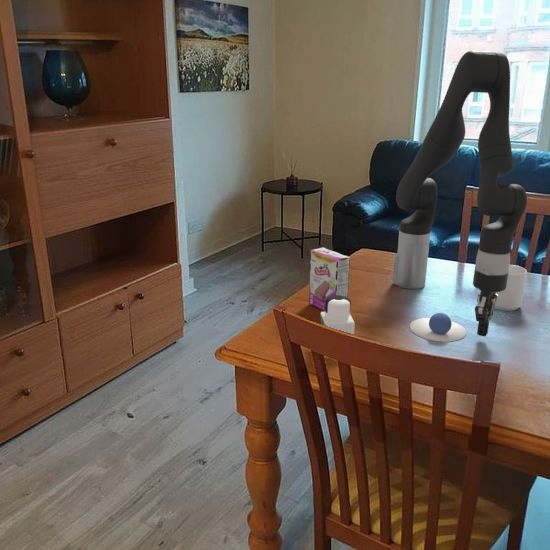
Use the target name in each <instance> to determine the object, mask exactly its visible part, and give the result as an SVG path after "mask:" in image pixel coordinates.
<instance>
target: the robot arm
mask: <svg viewBox="0 0 550 550" xmlns="http://www.w3.org/2000/svg"><path fill="white" fill-rule="evenodd" d="M471 93H479V94H480V93H483V94H485V93H486V94H487V95H488V97H489V111H488V114H487V117H486V119H485V121H484V124H483V125H482V128H481V131H480V132H479V136H478V140H477V149H478V157H479V165H480V166H479V167H480V174H479V175H480V176H479V183H478V189H477V195H476V205H477V208H478V210H479V212H481V214H482V215H484V216H487V217H495V216H497V217H499V218H498V219H497V220H496V221H494V222H491V223H489V224H485V225H484V226H483V227H482V228H481V231H480V236H479V243H478V250H477V254H476V259H475V263H474V265H475V266H474V272H473V280H472V285H473V287H475V288H476V289H478V290H479V291H480V293H479V294H477V298H476V302H477V305H475V306H474V312H475V321H476V322H478V324H477V330H476V331H477V332H476V334H477V335H478V336H480V337H486V336H487V335H488V333H489V328H490V327H489V326H490V321H491V320H492V317H493V316H494V312H495V309H496V308H495V305H496V301H497V298H498V294H497V293H496V292H501V291H503V290H505V289H506V285H507V279H508V272H509V266H510V265H511V250H512V243H513V237H514V234H515V232H516V230H517V228H518V227H519V226H518V225H519V223H520V221H521V219H522V217H523V215H524V213H525V210H526V208H527V204H528V195H527V191H526V190H525V188H524V187H523V186H522V185H520V184H517V183H509V184H506V183H505V184H498V182H497V179H498V178H502V177H505V176H508V175H510V174H511V173H512V172H513V170H514V158H513V150H512V143H511V135H510V101H511V68H510V62H509V58H508V57H507V55H506V54H505V53H503V52H499V51H492V50H491V51H488V50H469V51H467V52H465V53H464V54H463V55H461V57H460V59H459V60H458V63H457V65H456V67H455V69H454V72H453V75H452V77H451V80H450V83H449V85H448V88H447V91H446V94H445V95H444V97H443V99H442V103H441V105H440V108H439V109H438V111H437V114H436V115H435V118H434V120H433V121H432V123H431V125H430V127H429V129H428V132H427V133H426V135H425V137H424V139H423V142H422V144H421V146H420V148H419V150H418V152H417V154H416V156H415V157H414V159H413V161H412V163H411V165H410V166H409V167H408V169H407V170H406V172H405V174H404V175H403V177H402V179H401V180H400V182H399V184H398V186H397V189H396V194H395V200H396V203H397V206H398V207H399V208H400V209H402V210H404V211H405V210H406V211H411V210H412V211H413V210H415V211H414V212H413V213H412V214H411V215H410V216H409V215H408V216H407V217H405V218H403V219H402V220H401V221H400V222H399V232H398V243H397V244H398V245H397V253H396V254H395V255H394V264H393V274H392V284H393V285H396V286H397V287H399V288H403V289H409V290H413V289H414V290H418V289H422V288H424V287H425V286H426V279H427V278H426V277H427V269H428V260H429V259H428V258H429V249H430V240H431V233H432V232H431V230H432V226H433V224H434V220H435V213H436V208H437V200H438V185H437V183H436V181H435V180H434V179H433V178H431V177H430V176H432V175H433V174H434V173H436V172H437V171H438V170H440V169H441V168H443V167H444V166H445V165H448V163H449V162H450V161H452V159H453V158H454V157H455V156H456V154H457V152H458V151H459V149H460V147H461V145H462V143H463V141H464V140H465V136H466V123H465V119H464V116H463V109H464V108H463V107H464V104H465V102H466V100H467V98H468V96H469V95H470V94H471Z"/></svg>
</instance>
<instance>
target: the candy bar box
mask: <svg viewBox="0 0 550 550" xmlns="http://www.w3.org/2000/svg"><path fill="white" fill-rule="evenodd" d="M350 264H351V257H350V256H348V255H344V254H341V253H340V252H337V251H334V250H331V249H329V248H326V247H323V246H322V247H319V248H313V249H310V261H309V265H310V266H309V267H310V268H309V298H308V301H309V303H308V304H309V305H310V306H312V307H315V308H316V309H319V310H321V311H322V312H325V300H326V298H328V297H330V296H333V295H341V296H345V297H347V298H349V283H350V266H351V265H350Z"/></svg>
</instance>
